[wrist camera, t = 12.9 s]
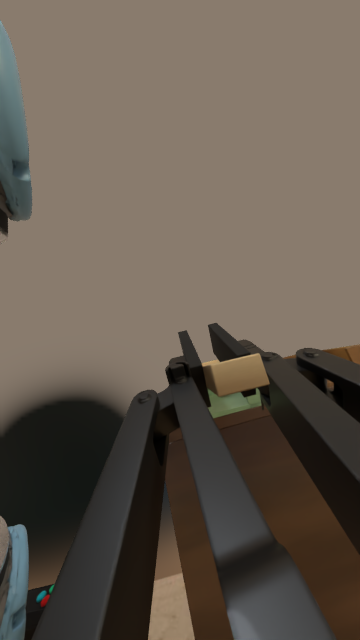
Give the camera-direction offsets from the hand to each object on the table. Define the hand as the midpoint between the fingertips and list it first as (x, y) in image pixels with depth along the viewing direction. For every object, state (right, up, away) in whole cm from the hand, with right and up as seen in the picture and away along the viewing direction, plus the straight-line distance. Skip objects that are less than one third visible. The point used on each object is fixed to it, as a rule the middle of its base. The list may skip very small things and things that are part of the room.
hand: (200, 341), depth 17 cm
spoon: (+1, -4, +1) cm, 4 cm away
